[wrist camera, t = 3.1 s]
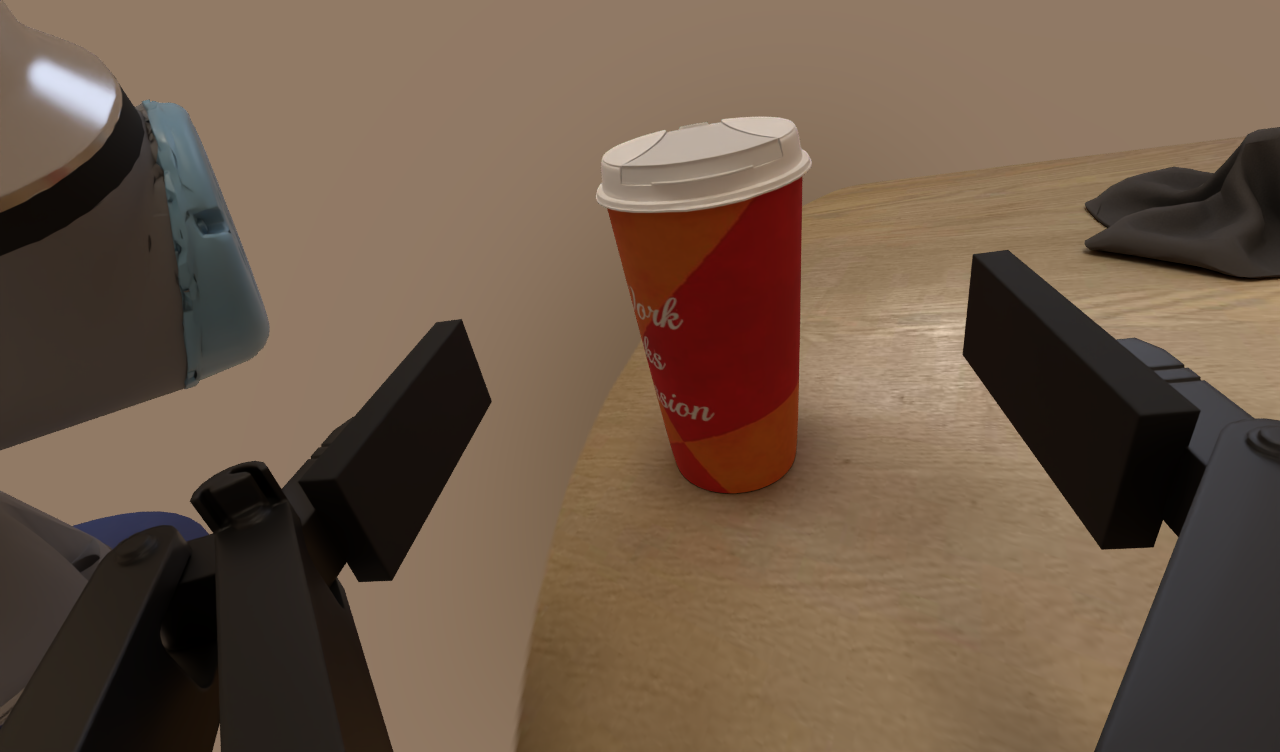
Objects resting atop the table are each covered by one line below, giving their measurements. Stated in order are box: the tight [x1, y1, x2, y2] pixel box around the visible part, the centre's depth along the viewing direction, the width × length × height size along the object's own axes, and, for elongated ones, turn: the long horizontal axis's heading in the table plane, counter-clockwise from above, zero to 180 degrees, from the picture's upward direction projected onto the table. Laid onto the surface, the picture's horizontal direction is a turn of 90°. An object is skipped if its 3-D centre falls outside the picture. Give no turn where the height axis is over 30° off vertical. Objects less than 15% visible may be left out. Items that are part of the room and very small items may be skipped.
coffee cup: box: [596, 117, 812, 493], centre depth 26 cm, size 8×8×15 cm
